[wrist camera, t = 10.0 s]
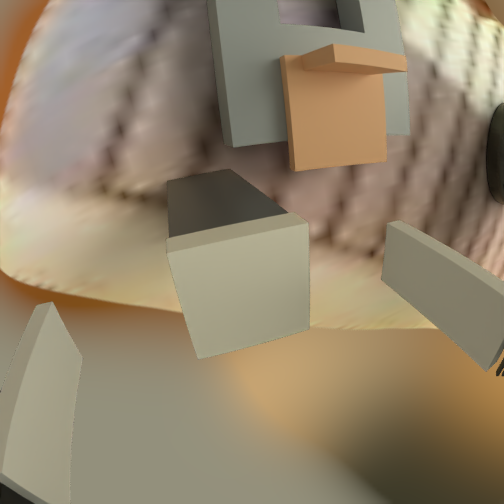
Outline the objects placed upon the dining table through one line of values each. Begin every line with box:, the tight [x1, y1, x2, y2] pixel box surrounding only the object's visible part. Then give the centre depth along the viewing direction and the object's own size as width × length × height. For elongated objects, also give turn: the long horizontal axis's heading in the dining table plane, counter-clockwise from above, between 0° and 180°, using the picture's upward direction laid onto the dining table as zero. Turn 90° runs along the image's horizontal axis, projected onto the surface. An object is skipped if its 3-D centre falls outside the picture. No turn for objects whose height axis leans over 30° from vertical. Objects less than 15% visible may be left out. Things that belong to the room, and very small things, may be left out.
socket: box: [207, 0, 410, 148], centre depth 15 cm, size 14×18×3 cm
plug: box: [166, 169, 310, 360], centre depth 15 cm, size 5×5×12 cm
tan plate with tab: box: [279, 44, 408, 172], centre depth 15 cm, size 7×7×4 cm
